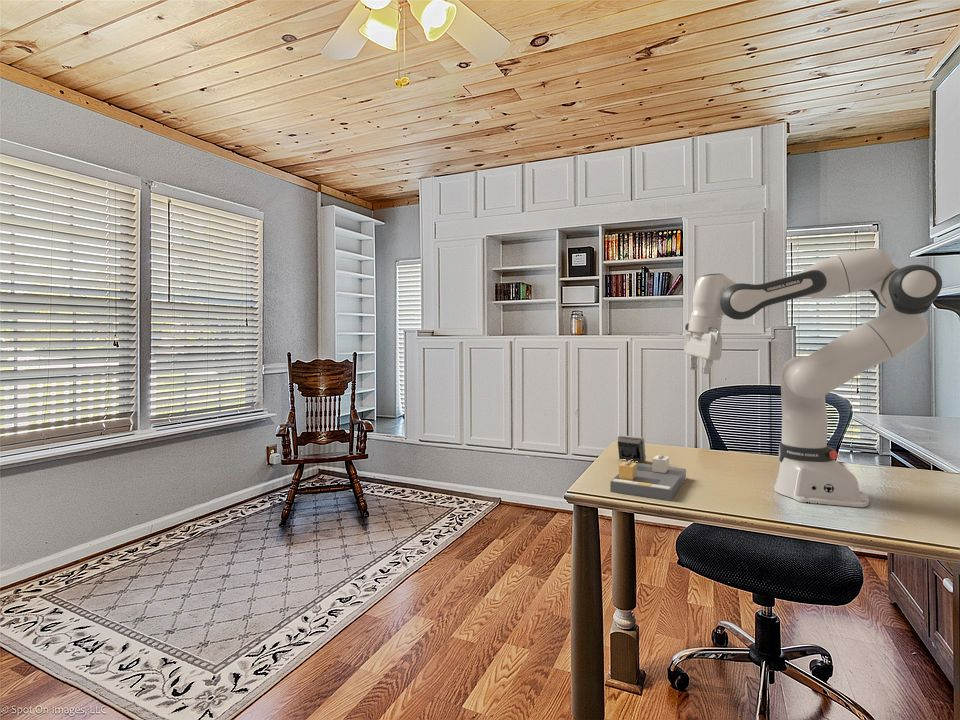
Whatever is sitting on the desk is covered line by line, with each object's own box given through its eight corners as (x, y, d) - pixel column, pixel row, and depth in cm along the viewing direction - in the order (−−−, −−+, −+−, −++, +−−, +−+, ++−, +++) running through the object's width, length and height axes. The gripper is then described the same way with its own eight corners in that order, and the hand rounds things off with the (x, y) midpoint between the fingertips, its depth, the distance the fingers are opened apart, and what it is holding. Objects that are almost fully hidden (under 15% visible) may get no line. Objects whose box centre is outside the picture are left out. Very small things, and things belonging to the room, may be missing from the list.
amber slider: (636, 475, 159) (636, 461, 159) (632, 480, 155) (632, 465, 154) (623, 474, 161) (623, 459, 161) (618, 478, 157) (618, 463, 157)
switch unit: (685, 478, 167) (686, 467, 166) (670, 500, 146) (670, 489, 146) (632, 471, 175) (632, 461, 175) (610, 491, 155) (610, 480, 155)
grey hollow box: (646, 461, 188) (645, 436, 186) (642, 465, 183) (641, 440, 182) (620, 457, 193) (619, 433, 191) (615, 462, 189) (615, 437, 187)
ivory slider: (668, 469, 166) (669, 454, 165) (665, 473, 161) (665, 458, 161) (655, 467, 168) (656, 453, 167) (652, 471, 164) (652, 456, 163)
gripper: (730, 329, 150) (724, 377, 152) (702, 326, 170) (696, 368, 172) (708, 327, 150) (702, 375, 152) (682, 324, 171) (677, 367, 172)
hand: (699, 371), depth 162 cm, fingers open, 8 cm apart
